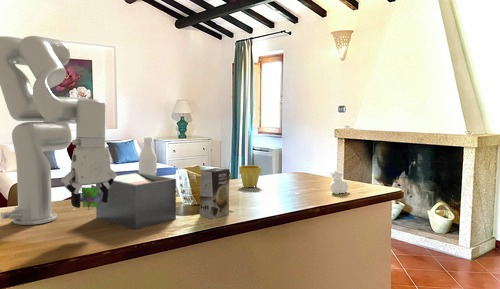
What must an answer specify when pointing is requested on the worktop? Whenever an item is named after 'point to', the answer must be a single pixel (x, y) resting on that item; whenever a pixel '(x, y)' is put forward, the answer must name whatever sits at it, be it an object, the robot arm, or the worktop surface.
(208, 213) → the coffee box
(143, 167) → the water bottle
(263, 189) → the worktop surface
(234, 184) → the worktop surface
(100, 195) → the geometric puzzle
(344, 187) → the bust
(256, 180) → the plant pot
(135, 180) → the trapdoor
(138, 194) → the bin
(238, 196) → the worktop surface
